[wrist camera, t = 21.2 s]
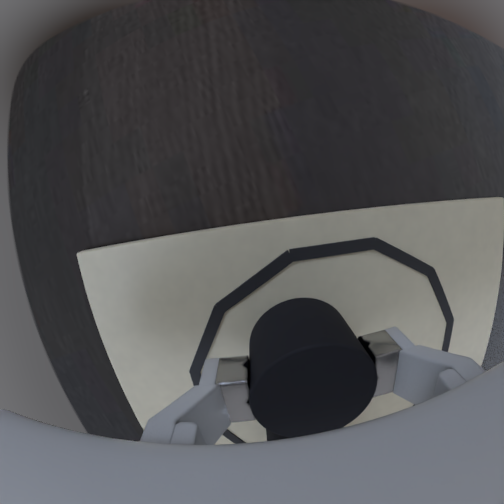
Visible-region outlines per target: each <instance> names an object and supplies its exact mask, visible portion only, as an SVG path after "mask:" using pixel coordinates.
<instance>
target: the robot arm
mask: <svg viewBox="0 0 504 504" xmlns="http://www.w3.org/2000/svg"><path fill="white" fill-rule="evenodd" d="M358 340H359V341H360V343H361V344H362V346H363V347H364V349H365V350H366V352H367V353H368V355H369V356H370V358H371V359H372V361H373V362H374V364H375V367H376V370H377V387H376V391H375V394H374V396H373V397H377V396H380V395H384V394H388V393H391V392H393V393H394V394H396V395H398V396H400V397H401V398H403V399H405V400H407V401H409V402H411V403H413V404H414V406H411V407H409V408H406V409H403V410H400V411H398V412H395V413H392V414H389V415H386V416H383V417H379V418H376V419H373V420H370V421H366V422H363V423H359V424H355V425H352V426H348V427H344V428H340V429H335V430H331V431H326V432H322V433H317V434H311V435H306V436H300V437H294V438H287V439H280V440H272V441H264V442H253V443H240V444H220V445H214V444H215V443H216V442H217V441H218V439H219V438H220V437H221V436H222V435H223V433H224V432H225V431H226V430H227V428H228V427H229V426H230V425H231V423H234V422H244V421H253V420H255V417H254V415H253V414H252V411H251V408H250V403H249V393H250V379H249V372H250V361H249V357H248V355H246V356H235V357H222V358H210V359H206V360H205V362H204V366H203V370H202V374H201V378H200V382H199V385H197V386H194V387H192V388H191V389H190V390H188V391H187V392H186V393H184V394H183V395H182V396H180V397H179V398H178V399H176V400H175V401H174V402H172V403H171V404H170V405H168V406H167V407H165V408H164V409H163V410H161V411H160V412H159V413H157V414H156V415H154V416H153V417H151V418H150V419H149V420H148V422H147V424H146V427H145V429H144V432H143V434H142V437H141V439H140V442H138V441H129V440H122V439H115V438H108V437H103V436H97V435H92V434H87V433H82V432H78V431H73V430H69V429H65V428H61V427H57V426H54V425H50V424H46V423H43V422H40V421H37V420H33V419H30V418H27V417H24V416H22V415H19V414H17V413H14V412H11V411H9V410H5V409H1V410H0V504H504V361H503V362H501V363H499V364H498V365H496V366H494V367H493V368H491V369H489V370H488V371H485V370H484V369H483V368H482V367H481V366H479V365H478V364H477V363H476V362H475V361H474V360H473V359H472V358H470V357H466V356H461V355H457V354H453V353H449V352H445V351H441V350H437V349H433V348H429V347H425V346H422V345H417V346H415V345H414V344H413V343H412V342H411V341H410V340H409V339H408V338H407V337H406V336H405V335H404V334H403V333H402V332H401V331H400V330H399V329H398V328H397V327H391V328H388V329H384V330H381V331H378V332H374V333H370V334H367V335H363V336H359V337H358Z"/></svg>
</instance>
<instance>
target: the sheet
mask: <svg viewBox="0 0 504 504" xmlns="http://www.w3.org/2000/svg"><path fill="white" fill-rule="evenodd" d="M503 239H504V199H503V198H502V197H488V198H473V199H459V200H446V201H434V202H423V203H412V204H401V205H391V206H381V207H372V208H362V209H353V210H345V211H336V212H327V213H319V214H311V215H303V216H295V217H288V218H280V219H273V220H265V221H258V222H251V223H244V224H237V225H230V226H224V227H217V228H210V229H204V230H198V231H191V232H185V233H179V234H173V235H167V236H161V237H155V238H149V239H143V240H137V241H132V242H126V243H120V244H115V245H109V246H104V247H99V248H93V249H88V250H83V251H80V252H78V253H77V258H78V262H79V266H80V270H81V274H82V278H83V282H84V286H85V289H86V293H87V296H88V299H89V303H90V306H91V309H92V312H93V315H94V318H95V321H96V324H97V327H98V330H99V333H100V336H101V338H102V341H103V344H104V346H105V349H106V352H107V354H108V357H109V359H110V362H111V364H112V366H113V369H114V371H115V373H116V376H117V378H118V380H119V382H120V385H121V387H122V389H123V391H124V393H125V395H126V397H127V399H128V401H129V403H130V405H131V407H132V409H133V411H134V413H135V415H136V417H137V419H138V421H139V423H140V424H141V426H142V428H143V430H144V429H145V427H146V424H147V422H148V420H149V419H150V418H151V417H153V416H154V415H156V414H157V413H159V412H160V411H161V410H163V409H164V408H165V407H167V406H168V405H170V404H171V403H172V402H174V401H175V400H176V399H178V398H179V397H180V396H182V395H183V394H184V393H186V392H187V391H188V390H190V389H191V388H192V387H194V386H197V385H199V382H200V378H201V374H202V370H203V366H204V362H205V360H206V359H210V358H222V357H235V356H246V355H248V357H249V342H250V336H251V332H252V330H253V327H254V326H255V324H256V322H257V321H258V320H259V318H260V317H261V316H262V315H263V314H264V313H265V312H266V311H268V310H269V309H270V308H272V307H273V306H275V305H277V304H279V303H281V302H283V301H286V300H290V299H294V298H314V299H318V300H322V301H324V302H326V303H328V304H330V305H332V306H333V307H334V308H335V309H337V310H338V312H339V313H340V314H341V315H342V317H343V318H344V320H345V321H346V323H347V324H348V325H349V327H350V328H351V330H352V331H353V333H354V334H355V336H356V337H357V338H358V337H359V336H363V335H367V334H370V333H374V332H378V331H381V330H384V329H388V328H391V327H397V328H398V329H399V330H400V331H401V332H402V333H403V334H404V335H405V336H406V337H407V338H408V339H409V340H410V341H411V342H412V343H413V344H414V345H415V346H417V345H422V346H425V347H429V348H433V349H437V350H441V351H445V352H449V353H453V354H457V355H461V356H466V357H470V358H472V359H473V360H474V361H475V362H476V363H477V364H478V365H479V366H482V362H483V359H484V356H485V352H486V349H487V345H488V341H489V337H490V333H491V329H492V324H493V320H494V315H495V309H496V304H497V298H498V292H499V285H500V277H501V268H502V256H503ZM411 406H414V404H413V403H411V402H409V401H407V400H405V399H403V398H401V397H400V396H398V395H396V394H394V393H393V392H391V393H388V394H384V395H380V396H377V397H373V398H372V400H371V402H370V403H369V405H368V406H367V408H366V409H365V410H364V411H363V412H362V413H361V414H360V415H359V416H358V417H357V418H356V419H354V420H353V421H352V422H350V423H349V424H347V425H346V426H344V427H348V426H352V425H355V424H359V423H363V422H366V421H370V420H373V419H376V418H379V417H383V416H386V415H389V414H392V413H395V412H398V411H400V410H403V409H406V408H409V407H411ZM264 441H267V435H266V428H264V427H263V426H262V425H261V424H260V423H259V422H258V421H257V420H256V419H255V420H253V421H244V422H234V423H231V425H230V426H229V427H228V428H227V430H226V431H225V432H224V433H223V435H222V436H221V437H220V438H219V439H218V441H217V442H216V443H215V444H214V445H220V444H240V443H253V442H264Z"/></svg>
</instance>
